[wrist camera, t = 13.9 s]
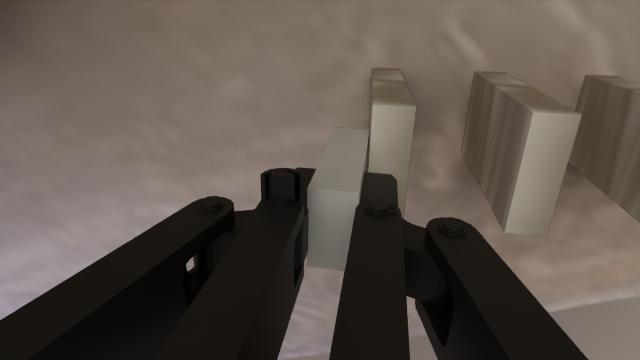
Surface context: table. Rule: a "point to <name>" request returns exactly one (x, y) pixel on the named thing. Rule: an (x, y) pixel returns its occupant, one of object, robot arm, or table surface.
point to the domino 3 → (610, 139)
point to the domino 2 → (518, 150)
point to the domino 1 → (391, 128)
